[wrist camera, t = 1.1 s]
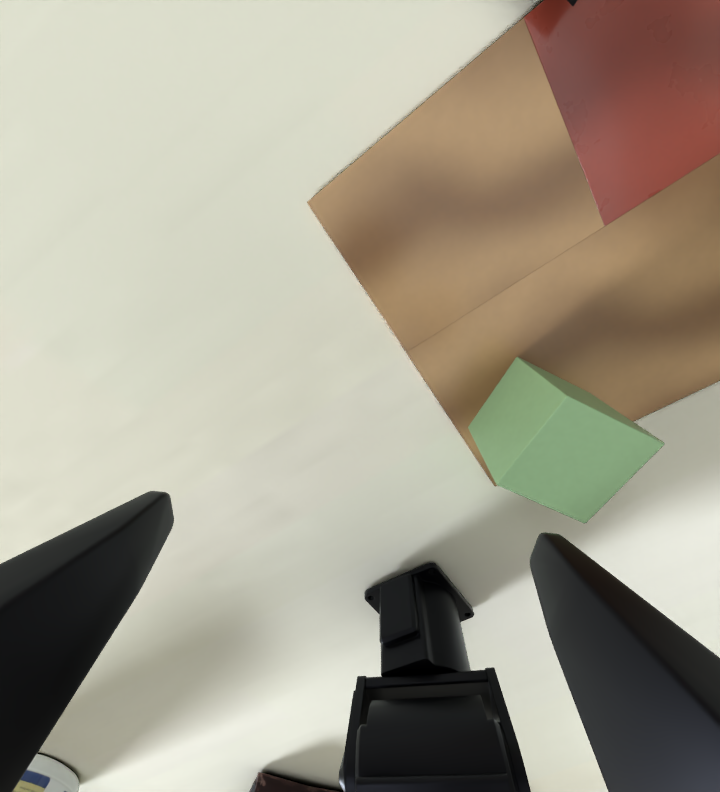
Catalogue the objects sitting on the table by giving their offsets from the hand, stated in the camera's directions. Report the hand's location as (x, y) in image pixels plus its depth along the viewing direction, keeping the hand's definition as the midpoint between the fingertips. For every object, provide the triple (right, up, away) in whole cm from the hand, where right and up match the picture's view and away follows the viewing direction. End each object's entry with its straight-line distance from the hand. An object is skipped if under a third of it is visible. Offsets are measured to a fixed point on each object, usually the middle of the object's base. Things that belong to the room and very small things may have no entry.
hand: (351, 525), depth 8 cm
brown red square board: (+12, +10, +8) cm, 17 cm away
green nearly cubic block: (+10, +2, +12) cm, 16 cm away
